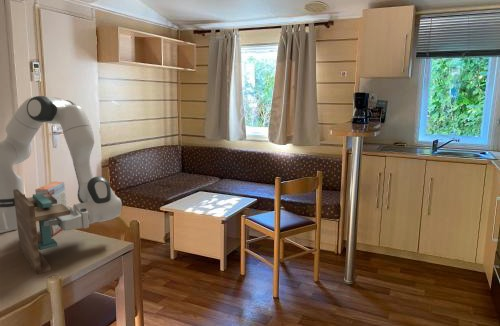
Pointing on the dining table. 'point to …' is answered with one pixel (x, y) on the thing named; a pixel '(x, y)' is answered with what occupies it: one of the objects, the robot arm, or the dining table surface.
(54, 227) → the cracker box
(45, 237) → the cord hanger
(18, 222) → the wall shelf
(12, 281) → the dining table surface
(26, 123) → the robot arm
